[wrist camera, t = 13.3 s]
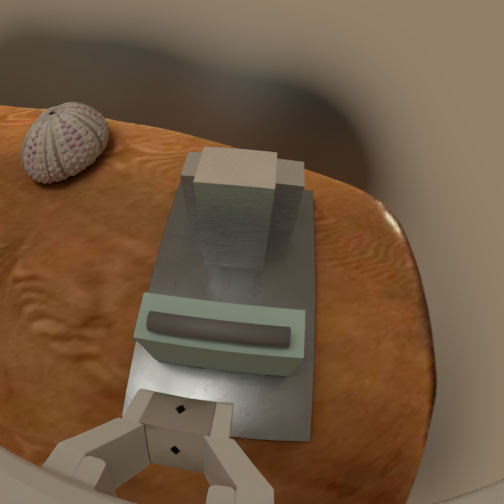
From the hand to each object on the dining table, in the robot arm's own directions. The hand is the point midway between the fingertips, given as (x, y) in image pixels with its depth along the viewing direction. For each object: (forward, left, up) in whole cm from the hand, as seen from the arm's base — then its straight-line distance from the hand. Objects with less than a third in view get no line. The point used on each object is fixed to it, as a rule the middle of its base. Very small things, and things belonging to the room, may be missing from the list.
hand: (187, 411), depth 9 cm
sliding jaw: (-4, +4, -13) cm, 15 cm away
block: (-10, +11, -14) cm, 20 cm away
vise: (-8, +8, -15) cm, 19 cm away
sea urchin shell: (-38, +3, -15) cm, 41 cm away
